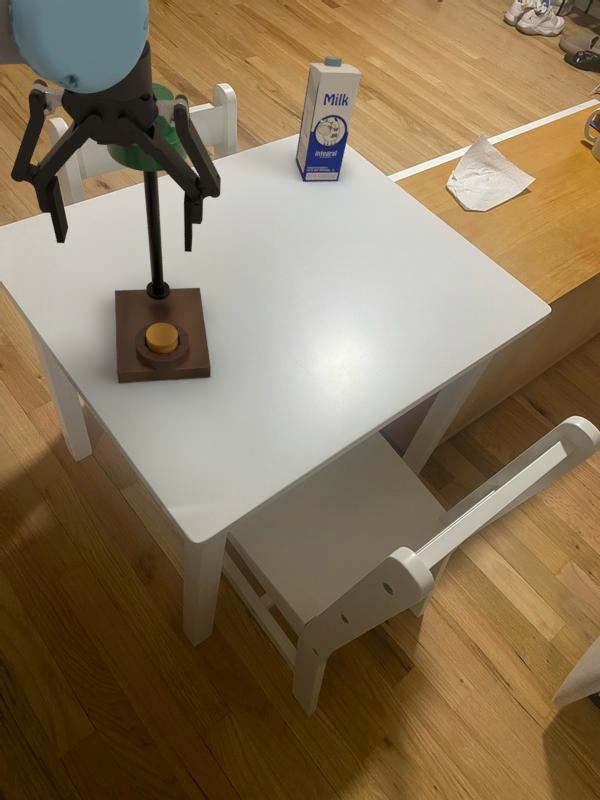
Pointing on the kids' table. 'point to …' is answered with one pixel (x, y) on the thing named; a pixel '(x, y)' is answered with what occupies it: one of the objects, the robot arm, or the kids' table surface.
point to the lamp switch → (162, 338)
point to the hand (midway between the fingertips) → (126, 239)
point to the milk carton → (326, 119)
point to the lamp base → (143, 312)
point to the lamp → (152, 191)
